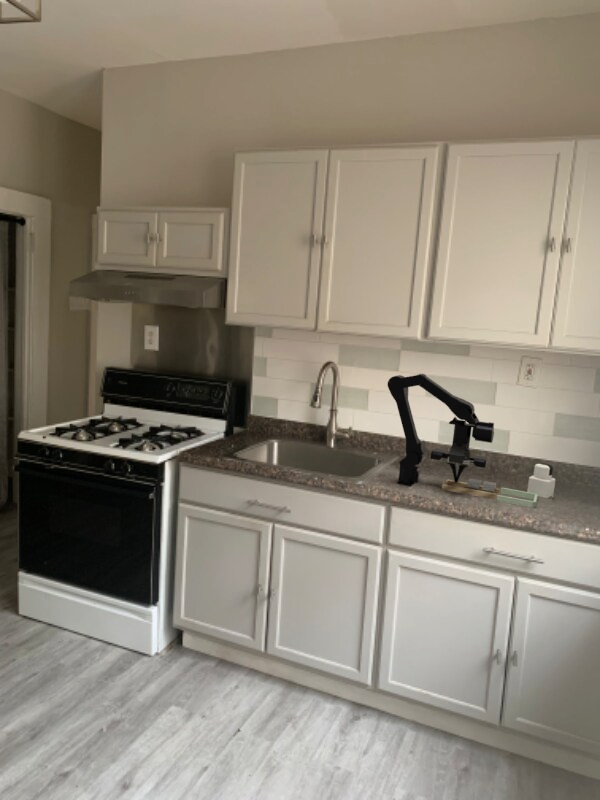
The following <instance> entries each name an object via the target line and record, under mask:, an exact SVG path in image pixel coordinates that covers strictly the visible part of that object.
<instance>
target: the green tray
mask: <svg viewBox="0 0 600 800" xmlns="http://www.w3.org/2000/svg"><path fill="white" fill-rule="evenodd" d="M500 494H504V495H500ZM500 494H498V495H497V498H496V501H497V502H500V503H506V504H512V505H518V506H522V507H528V508H532V509H533V508H534V509H535V508H536V506H537V502H538V497H539V496H538V494H535V493H529V492H527V491H523V490H517V489H513V488H512V489H511V488H507V487H501V488H500ZM506 495H508V496H506ZM510 496H513V497H510ZM516 497H520V498H516ZM521 498H522V499H521ZM523 498H525V499H523ZM529 499H530V500H529Z"/></svg>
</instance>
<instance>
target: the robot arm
mask: <svg viewBox="0 0 600 800" xmlns="http://www.w3.org/2000/svg"><path fill="white" fill-rule="evenodd" d="M417 386H418V387H420V388H422V389H423V390H425V391H426V392H427V393H429V394H430V395H432V396H433V397H435V398H436V399H437V400H439V401H440V402H441V403H443V404H444V405H446V407H447V408H448V409H449V410H450V411H451V412H452V414H453V415H454V417H453V418H452V420H450V421H449V422H448V424H449V425H453V426H454V427H453V436H452V442H451V443H452V445H451V447H450V449H449V452H446V449H445V450H444V449H440V448H435V449H433V450H432V451H431V453H430V459H431V460H436V461H440V460H441V459H446V460H447V461H446V464H447V465H449V466H450V468H451V471H452V476H453V479H454V480H453V481H455V482H458V481H459V480H460V478H461V475H462V474H463V472H464V470H465V469H466V468H469V467H470V466H471V463H472V464H473V466H475V467H477V468H478V467H479V468H482V469H483V468H486V467H487V466H488V462H489V459H488V457H487V456H481V455H476V456H475V457H472V456H471V453H472V452H471V449H470V444H471V437H472V438H473V439H474V441H477V442H482V443H483V442H484V443H490V444H493V441H494V436H495V430H494V429H495V427H494V426H495V423H494V422H486V421H480V419H479V418H478V416H477V415H476V413H475V406H474V404H473V403H471V402H469V401H468V400H466V399H463V398H461V397H458V396H456V395H454V394H452V393H451V392H450V391H448V390H446V389H445V388H444V387H442V386H441V385H440V384H438V383H437V382H435V381H433V380H432V379H431V378H430V377H428V376H427V375H426V373H419V374H416V375H409V376H404V375H401V374H400V375H394V376H392V377H389V379H388V381H387V388H388V391H389V393H390V395H391V396H392V398H393V400H394V401H395V403H396V406H397V411H398V415H399V418H400V422H401V426H402V430H403V434H404V437H405V457H404V458H402V459H401V460H400V461H399V473H398V480H396V483H397V484H402V485H406V486H413V485H415V483H417V484H418V483H419V482H420V475H421V471H419V470H420V466H419V465H420V464H421V463H422V462H423V461H424V460H425V459H426V457H427V452H428V449H427V448H426V441H425V440H422V441H421V440H420V438H419V436H418V432H417V429H416V424H415V421H414V416H413V414H412V409H411V406H410V401H409V388H412V387H417ZM458 464H459V465H458Z"/></svg>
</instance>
